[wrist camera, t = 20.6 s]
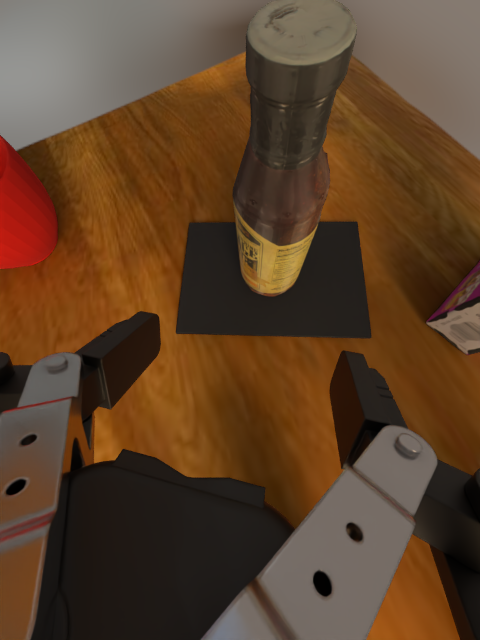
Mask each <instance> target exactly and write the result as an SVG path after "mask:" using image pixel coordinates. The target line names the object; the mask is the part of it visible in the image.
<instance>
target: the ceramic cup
mask: <svg viewBox="0 0 480 640" xmlns="http://www.w3.org/2000/svg"><path fill="white" fill-rule="evenodd" d="M57 232H58V221H57V216H56V212H55V208H54V205H53V203H52V200H51V198H50V197H49V195H48V193H47V191H46V189H45V188H44V186H43V184H42V183H41V181H40V180H39V179H38V177H37V176H36V175H35V173H34V172H33V171H32V169H31V168H30V167H29V166H28V165H27V163H26V162H25V161H24V160H23V159H22V157H21V156H20V155H19V154H18V153H17V152H16V151H15V149H14V148H13V147H12V146H11V145H10V144H9V143H8V142H7V141H6V140H5V139H4V138H3V137H2V136H1V135H0V269H6V268H17V267H22V266H30V265H34V264H36V263H39V262H41V261H42V260H44V259H45V258H46V257H48V256H49V255H50V254H51V253H52V251H53V250H54V248H55V246H56V244H57V240H58V234H57Z"/></svg>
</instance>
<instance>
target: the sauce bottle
mask: <svg viewBox="0 0 480 640" xmlns="http://www.w3.org/2000/svg"><path fill="white" fill-rule="evenodd" d="M356 31H357V27H356V23H355V21H354V19H353V17H352V15H351V13H350V11H349V9H347V8H346V7H345V6H344V5H343V4H341V3H340V2H338V1H335V0H275V1H271V2H269V3H268V4H267V5H265V6H264V7H262V8H261V9H260V10H259V11H258V12H257V13H256V15H255V16H254V17H253V19H252V20H251V22H250V23H249V25H248V29H247V34H246V75H247V78H248V81H249V84H250V85H251V94H250V104H251V127H250V136H249V139H248V142H247V145H246V149H245V152H244V155H243V158H242V162H241V165H240V168H239V171H238V174H237V178H236V181H235V184H234V187H233V203H234V213H235V222H236V232H237V240H238V242H237V243H238V249H239V258H240V267H241V273H242V276H243V278H244V280H245V282H246V284H247V285H248V286H249V288H250V289H251V290H252V291H254V292H256V293H258V294H261V295H265V296H276V295H279V294H282V293H284V292H285V291H287V290H288V289H289V288H291V287H292V286H293V285H294V283H295V281H296V279H297V278H298V275H299V273H300V270H301V267H302V265H303V262H304V260H305V257H306V254H307V252H308V249H309V247H310V244H311V241H312V239H313V236H314V234H315V231H316V228H317V226H318V223H319V220H320V216H321V211H322V208H323V205H324V202H325V200H326V197H327V194H328V189H329V184H330V169H329V165H328V158H327V153H325V152H324V150H323V147H322V145H323V143H324V140H325V138H326V135H327V134H326V129H327V128H326V126H327V122H328V119H329V116H330V113H331V108H332V105H333V101H334V97H335V94H336V90H337V89H338V87H339V86H340V84H341V83H342V81H343V80H344V78H345V76H346V74H347V70H348V65H349V61H350V58H351V55H352V51H353V46H354V42H355V37H356Z"/></svg>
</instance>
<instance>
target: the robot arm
mask: <svg viewBox="0 0 480 640" xmlns="http://www.w3.org/2000/svg"><path fill="white" fill-rule="evenodd" d="M160 345H161V342H160V323H159V316H158V315H157V314H153V313H148V312H143V311H140V312H138V313H137V314H135V315H134V316H132V317H131V318H130V319H128V320H124V321H122V322H119V323H116V324H115V325H113V326H112V327H110V328H109V329H107V331H105V332H103V333H102V334H100V336H98V337H96V338H95V339H93V340H92V341H91V342H89V343H88V344H86V345H85V346H84V347H82V348H81V349H79V350H78V351H77V352H75V353H70V352H63V353H56V354H52V355H49V356H46V357H44V358H42V359H40V360H39V361H37V362H36V363H35V364H34V365H12V362H11V359H10V357H9V355H8V354H6V353H3V352H0V640H366V638H367V636H368V634H369V632H370V629H371V627H372V625H373V622H374V620H375V618H376V615H377V613H378V611H379V608H380V606H381V604H382V602H383V599H384V597H385V595H386V592H387V590H388V588H389V585H390V583H391V581H392V579H393V576H394V574H395V572H396V569H397V567H398V565H399V562H400V560H401V558H402V555H403V553H404V551H405V549H406V546H407V544H408V542H409V539H410V537H411V535H412V534H414V535H415V536H417V537H419V538H420V539H422V540H424V541H425V542H427V543H429V545H430V548H431V551H432V554H433V557H434V560H435V563H436V566H437V569H438V572H439V575H440V579H441V582H442V585H443V588H444V591H445V594H446V597H447V600H448V603H449V606H450V609H451V612H452V615H453V618H454V622H455V625H456V628H457V631H458V634H459V637H460V640H480V468H479V469H478V470H477V471H476V472H475V473H474V475H473V476H472V475H469V474H467V473H465V472H463V471H461V470H459V469H457V468H455V467H452V466H450V465H448V464H446V463H444V462H442V461H440V460H438V459H437V457H436V454H435V452H434V450H433V449H432V447H431V446H430V445H429V444H428V443H427V442H426V441H425V440H424V439H423V438H422V437H420V436H419V435H418V434H416V433H414V432H413V431H411V430H409V429H408V428H407V425H406V423H405V421H404V419H403V417H402V415H401V413H400V410H399V408H398V406H397V404H396V402H395V400H394V399H393V396H392V393H391V391H389V387H388V385H387V383H386V381H385V379H384V378H383V377H382V376H381V375H380V374H379V373H378V372H377V371H376V370H375V369H372V368H369V367H368V365H367V362H366V360H365V357H364V355H363V354H360V353H354V352H349V351H344V350H343V351H342V352H341V354H340V356H339V359H338V362H337V365H336V368H335V371H334V374H333V377H332V380H331V383H330V400H331V406H332V412H333V419H334V425H335V431H336V438H337V444H338V450H339V456H340V463H341V469H345V470H344V471H343V472H342V473H341V475H340V476H339V477H338V478H337V480H336V481H335V482H334V483H333V484H332V486H331V487H330V488H329V489H328V490H327V492H326V493H325V494H324V495H323V497H322V498H321V499H320V500H319V501H318V503H317V504H316V505H315V506H314V508H313V509H312V510H311V511H310V512H309V514H308V515H307V516H306V517H305V519H304V520H303V521H302V522H301V523H300V525H299V526H298V527H297V528H296V529H295V528H294V527H293V525H292V524H291V523H290V522H289V521H288V519H286V518H285V517H284V516H283V515H282V514H281V513H280V512H279V511H278V510H277V509H275V508H274V507H273V506H272V505H270V504H269V503H267V502H265V501H264V498H265V489H266V488H265V487H261V486H257V485H254V484H250V483H246V482H243V481H239V480H235V479H232V478H191V477H186V476H184V475H183V474H181V473H179V472H178V471H176V470H175V469H173V468H172V467H170V466H168V465H167V464H165V463H164V462H162V461H160V460H159V459H157V458H155V457H151V456H147V455H144V454H140V453H137V452H133V451H129V450H126V449H123V450H122V451H121V453H120V454H119V456H118V457H117V458H116V460H111V461H103V462H99V463H94V428H95V415H94V410H95V409H96V408H97V407H98V406H99V407H103V408H107V409H112V407H113V406H114V405H115V404H116V403H117V402H118V401H119V399H120V398H121V397H122V396H123V395H124V394H125V393H126V391H127V390H128V389H129V388H130V387H131V386H132V384H133V383H134V382H135V381H136V380H137V379H138V378H139V376H140V375H141V374H142V373H143V372H144V371H145V370H146V368H147V367H148V366H149V365H150V364H151V363H152V361H153V360H154V359H155V358H156V357H157V355H158V353H159V350H160Z"/></svg>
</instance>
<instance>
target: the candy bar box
mask: <svg viewBox="0 0 480 640" xmlns="http://www.w3.org/2000/svg"><path fill="white" fill-rule="evenodd" d="M426 324H427V325H428V326H430V327H431V328H432V329H433V330H435V331H436V332H437V333H439V334H440V335H442V336H443V337H444V338H445V339H446V340H448V341H449V342H450V343H452V344H453V345H454V346H455V347H456V348H458V349H459V350H460V351H462V352H463V353H465V354H466V355H470V354H474V353H478V352H480V261H479V262H478V263H477V264H476V266H475V267H474V268H473V269H472V270H471V271H470V272H469V274H468V275H467V276H466V277H465V278H464V279H463V280H462V282H461V283H460V284H459V285H458V286H457V287H456V289H455V290H454V291H453V292H452V293H451V294H450V295H449V297H448V298H447V299H446V300H445V301H444V302H443V303H442V304H441V306H440V307H439V308H438V309H437V310H436V311H435V312H434V314H433V315H432V316H431V317H430V318H429V319H428V320H427V322H426Z"/></svg>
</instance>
